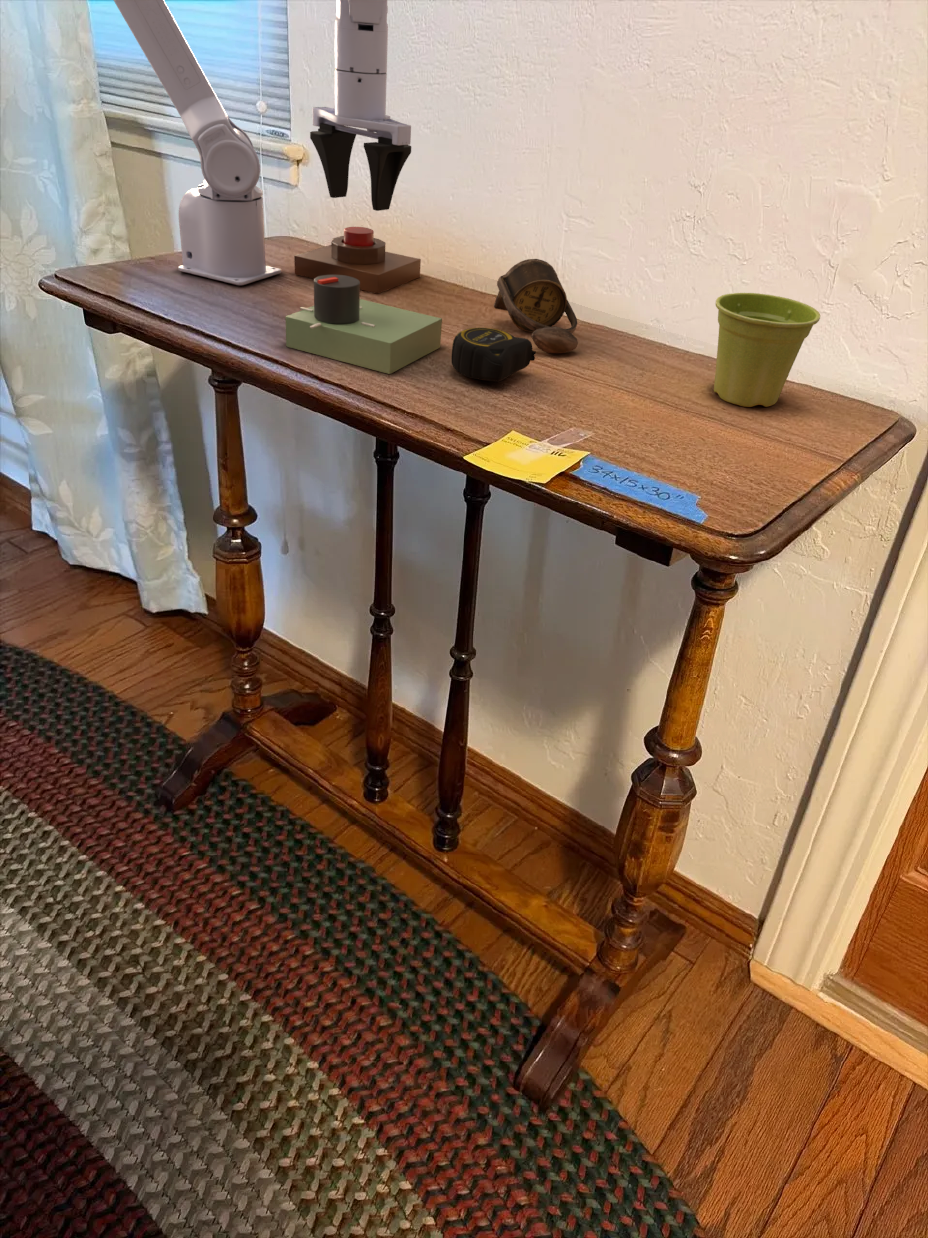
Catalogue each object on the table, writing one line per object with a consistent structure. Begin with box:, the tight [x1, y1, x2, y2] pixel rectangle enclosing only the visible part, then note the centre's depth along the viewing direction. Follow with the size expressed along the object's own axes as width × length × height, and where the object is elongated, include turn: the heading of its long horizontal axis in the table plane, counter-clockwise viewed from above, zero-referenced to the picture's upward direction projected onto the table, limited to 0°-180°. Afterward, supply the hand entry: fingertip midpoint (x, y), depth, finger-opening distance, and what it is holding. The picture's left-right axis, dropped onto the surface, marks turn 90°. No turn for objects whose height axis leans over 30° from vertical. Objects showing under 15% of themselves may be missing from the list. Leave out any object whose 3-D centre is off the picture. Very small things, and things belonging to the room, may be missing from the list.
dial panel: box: [284, 298, 443, 375], centre depth 92 cm, size 12×11×3 cm
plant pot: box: [713, 292, 821, 408], centre depth 88 cm, size 9×9×9 cm
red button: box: [343, 226, 375, 246], centre depth 112 cm, size 4×4×2 cm
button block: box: [293, 235, 422, 294], centre depth 114 cm, size 12×10×4 cm
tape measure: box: [451, 327, 537, 382], centre depth 88 cm, size 7×7×4 cm
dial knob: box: [313, 275, 361, 324], centre depth 90 cm, size 4×4×4 cm
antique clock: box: [493, 258, 579, 354], centre depth 99 cm, size 7×13×10 cm
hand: (359, 202), depth 110 cm, fingers open, 7 cm apart
